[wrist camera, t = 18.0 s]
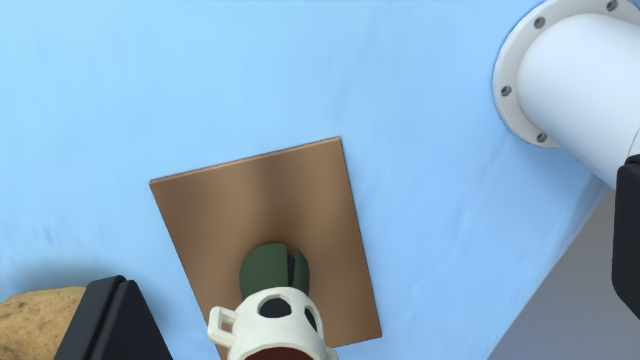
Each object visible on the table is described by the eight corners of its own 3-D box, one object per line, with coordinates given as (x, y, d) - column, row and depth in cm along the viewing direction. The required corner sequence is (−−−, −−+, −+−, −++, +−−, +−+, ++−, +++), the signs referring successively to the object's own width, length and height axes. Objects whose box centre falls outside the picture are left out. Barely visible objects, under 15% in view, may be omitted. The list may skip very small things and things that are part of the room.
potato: (21, 240, 46) (-23, 302, 39) (179, 294, 50) (165, 359, 43) (-8, 321, 49) (-53, 391, 42) (142, 366, 53) (123, 436, 46)
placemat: (339, 136, 44) (340, 139, 44) (381, 333, 54) (382, 337, 54) (149, 180, 44) (148, 183, 44) (226, 368, 55) (226, 372, 54)
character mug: (346, 261, 49) (370, 370, 38) (307, 316, 52) (319, 434, 40) (237, 214, 46) (227, 318, 34) (202, 275, 48) (182, 391, 37)
